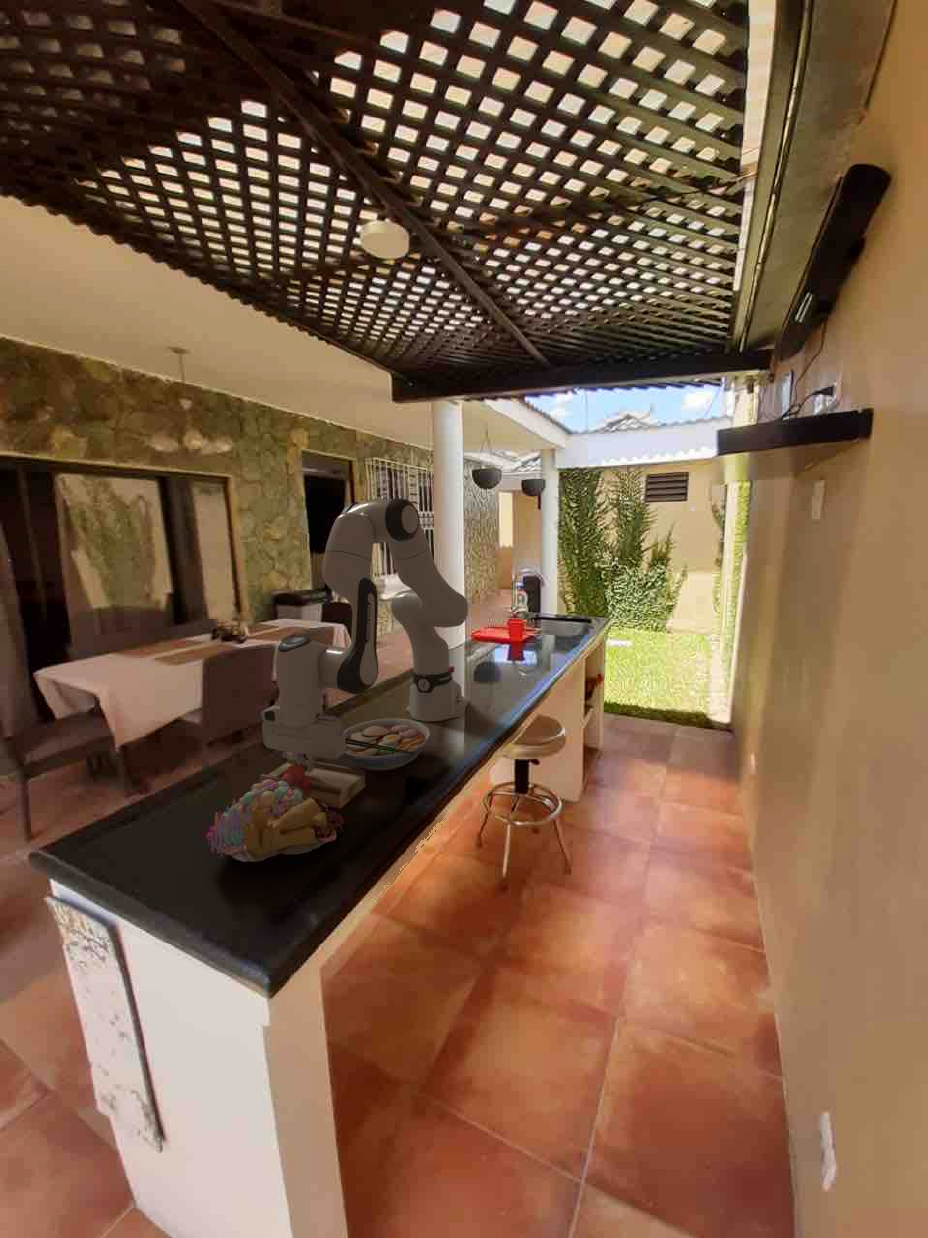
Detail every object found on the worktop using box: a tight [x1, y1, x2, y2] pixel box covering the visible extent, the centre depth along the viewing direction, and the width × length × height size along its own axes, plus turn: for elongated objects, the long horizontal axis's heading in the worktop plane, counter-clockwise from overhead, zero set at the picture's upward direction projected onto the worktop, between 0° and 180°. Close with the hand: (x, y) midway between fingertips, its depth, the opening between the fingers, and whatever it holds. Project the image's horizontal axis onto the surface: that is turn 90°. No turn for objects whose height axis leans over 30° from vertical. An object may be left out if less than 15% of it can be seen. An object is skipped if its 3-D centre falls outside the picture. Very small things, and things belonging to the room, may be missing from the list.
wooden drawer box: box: [259, 757, 366, 810], centre depth 109 cm, size 10×21×4 cm, turn 69°
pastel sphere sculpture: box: [205, 764, 346, 863], centre depth 91 cm, size 25×24×9 cm
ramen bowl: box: [343, 717, 431, 771], centre depth 120 cm, size 25×23×8 cm
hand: (306, 770), depth 109 cm, fingers closed
